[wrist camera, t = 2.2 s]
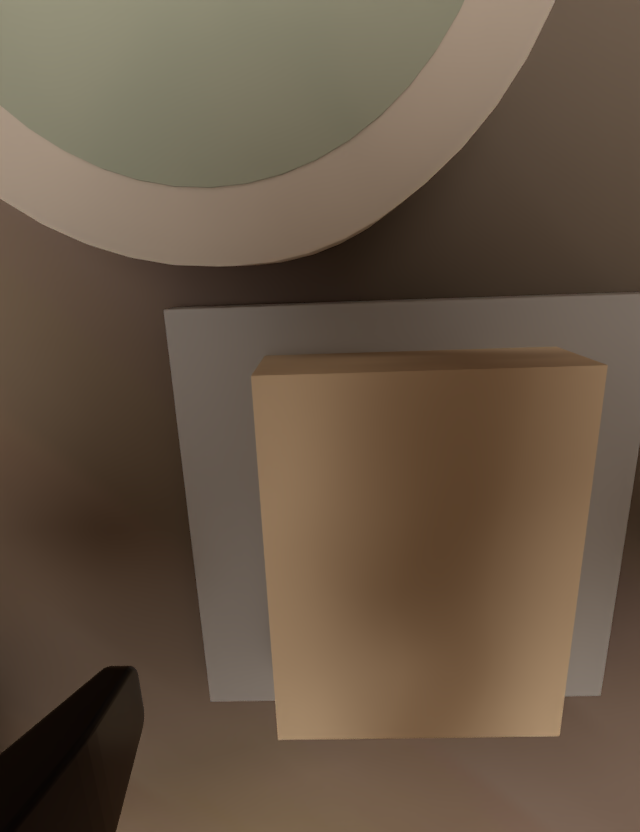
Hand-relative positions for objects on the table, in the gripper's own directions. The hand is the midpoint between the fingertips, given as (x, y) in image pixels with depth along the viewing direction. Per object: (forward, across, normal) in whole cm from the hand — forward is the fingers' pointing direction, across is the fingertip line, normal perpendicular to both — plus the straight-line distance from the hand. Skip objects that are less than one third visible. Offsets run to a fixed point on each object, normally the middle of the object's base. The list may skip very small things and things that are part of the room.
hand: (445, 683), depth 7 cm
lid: (+4, 0, 0) cm, 5 cm away
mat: (+5, 0, 0) cm, 5 cm away
